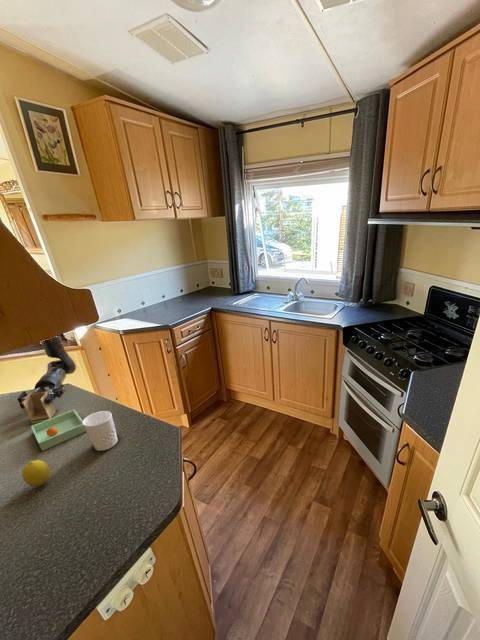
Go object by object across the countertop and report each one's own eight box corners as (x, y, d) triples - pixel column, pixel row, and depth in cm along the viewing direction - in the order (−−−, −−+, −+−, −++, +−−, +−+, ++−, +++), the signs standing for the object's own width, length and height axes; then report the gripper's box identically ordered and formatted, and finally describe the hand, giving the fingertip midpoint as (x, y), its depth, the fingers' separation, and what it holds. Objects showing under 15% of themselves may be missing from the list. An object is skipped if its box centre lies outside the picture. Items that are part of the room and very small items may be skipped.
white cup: (91, 455, 88) (80, 429, 84) (93, 440, 95) (84, 415, 91) (119, 447, 91) (110, 421, 87) (120, 433, 98) (112, 408, 94)
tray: (42, 450, 91) (38, 443, 90) (34, 433, 100) (30, 426, 99) (87, 430, 100) (85, 423, 99) (76, 415, 108) (74, 409, 107)
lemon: (58, 481, 80) (47, 458, 76) (35, 495, 76) (23, 473, 72) (48, 473, 83) (37, 451, 79) (25, 487, 78) (13, 465, 75)
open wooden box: (38, 414, 110) (29, 394, 107) (55, 411, 112) (47, 391, 108) (32, 423, 105) (22, 402, 101) (50, 420, 107) (41, 399, 103)
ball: (58, 436, 97) (60, 427, 98) (48, 435, 94) (51, 426, 96) (53, 437, 98) (55, 428, 99) (43, 435, 96) (46, 426, 97)
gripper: (25, 379, 115) (6, 399, 100) (66, 372, 119) (54, 391, 104) (32, 395, 118) (15, 417, 103) (72, 388, 122) (61, 408, 107)
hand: (34, 404), depth 104 cm, fingers open, 7 cm apart
